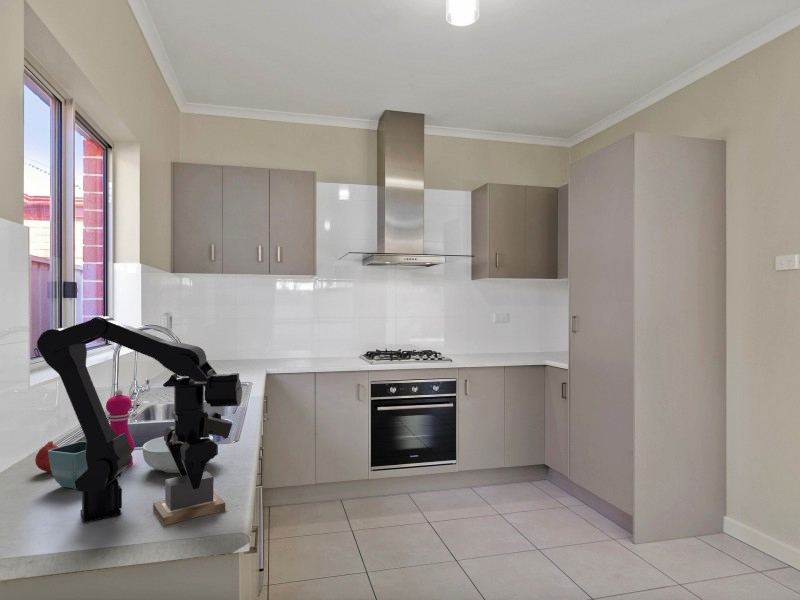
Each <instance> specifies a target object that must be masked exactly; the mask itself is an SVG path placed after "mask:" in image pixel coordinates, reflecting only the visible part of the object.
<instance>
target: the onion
mask: <svg viewBox="0 0 800 600" xmlns="http://www.w3.org/2000/svg"><path fill="white" fill-rule="evenodd" d="M58 447H59V446H58V445H56V444H54V441H53V440H50V441H48V442H47V443H46V444H45V445H44V446H42V447H41V448H40V449H39V450H38V451H37V453H36V456H35V458H34V460H35V465H36V467H37V468H38V469H39V470H41V471H44V472H45V473H49V474H51V473H52V472H51V467H50V461H49V455H48V450H51V449H54V448H58Z"/></svg>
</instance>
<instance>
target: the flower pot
mask: <svg viewBox="0 0 800 600" xmlns="http://www.w3.org/2000/svg"><path fill="white" fill-rule="evenodd" d="M85 453H86V440H80V441H76V442H73V443H70V444H69V443H68V444H66V445H61V446H58V448H54V449H51V450H48V455H49V461H50V467H51V472H50V473H51V475H52V476H53V478H54V480H55V481H56V483H58V484H59V486H60V487H64V488H70V489H74V490H75V489H76V490H77V488H76V486H75V481H76V480H77V479H78V478H79V477H80V476H81V475H82V474H83V473H84V472H85V471H86V470H87V469H88V468H87V463H86V458H85Z"/></svg>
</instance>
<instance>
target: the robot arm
mask: <svg viewBox="0 0 800 600" xmlns="http://www.w3.org/2000/svg"><path fill="white" fill-rule="evenodd" d="M99 339H104V340H106V341H109V342H111V343H113V344H114V343H115V344H117V345H119V346H121V347H124V348H127V349H129V350H131V351H134V352H136V353H140V354H142V355H145V356H147V357H150V358H152V359H153V360H155V361H157V362H158V363H159V364H160V365H161V366H163V368H165V369H167V370H168V371H170V372H172V373H173V374H171V376H170V377H169V378H168V379H167V380H166V381H165V382H164V383H163V384H162V386H163V387H164V388H173V389H174V391H173V393H174V394H173V395H174V397H173V398H174V399H173V401H174V403H173V404H174V405H173V407H174V408H173V409H174V411H172V412H171V417H172V419H174V420H173V421H174V424H173V425H172V426H168V427H166V428H165V429H164V430H163V436H164V441H165V442H166V445H167V447H168V449H169V451H170V453H171V455H172V457H173V460H174V462H175V464H176V466H177V468H178V470H179V475H180V476H185V475H188V478H189V480H190V483H191V485H192V488H193V489H198V488H199V486H200V483H201V479H202V476H203V472H205V469H206V466H207V464H208V463H209V461H211V460H212V459H214V458H215V457H216V456H218V455H219V445H218V444H217V443H216V442H215V441H214V440H213V441H212V440H210V439H209V438H206V437H209V435H211V436H213V435H214V436H218V437H222V438H223V439H229V437H230V434H231V430H232V427H233V423H232V422H230V421H229V420H227V419H225V418H222V414H221V413H220V412H216V411H211V412H210V414H209V413H208V412H207V411H205V402H206V404H207V405H209V406H210V407H212V408H213V407H217V408H218V407H239V406H241V403H242V398H243V397H242V396H243V387H242V383H241V379H240V373H238V372H237V373H236V372H234V373H233V372H232V373H229V374H227V373H223V374H217V372H216V370H215V369H214V368H213V367H212V366H211V364H210V363H209V362H208V360H207V355H206V353H205V350H204V349H203V348H201V347H199V346H197V345H192V344H189V343H184V342H178V341H170V340H166V339H164V338H161V337H158V336H156V335H153V334H150V333H148V332H146V331H143V330H141V329H138V328H135V327H133V326H130V325H128V324H126V323H123V322H122V321H121V322H120V321H118V320H115V319H114V318H113V317H111V316H109V315H108V316H106V315H105V316H96V317H93V318H91V319H90V320H87V321H83V322H80V323H78V324H75V325H71V326H69V327H68V326H67V327H66V326H65V327H60V328H51V329H47V330H45V331H43V332H42V333H40V335H39V337H38V340H36V347H37V350H38V352H39V354H40V355H41V357H42V358H43V360H44V361H45V363H46V364H47V365H48V366H49V367H50V368H51V369H52V370H53V371H55V372H56V373H57V374H58V375H59V378H60V379H61V381H62V384H63V387H64V389H65V392H66V394H67V397H68V399H69V401H70V403H71V405H72V406H71V407H72V408H73V411H74V413H75V416H76V419H77V420H78V422H79V423H78V424H79V426H80V428H81V430H82V432H83V435H84V438H85V441H86V453H85V458H86V463H87V468H88V469H87V470H86V471H85V472H84V473H83V474H82V475H81V476H80V477H79V478H78V479H77V480H76V481H75V486H76V488H77V489H76V490H77V492H78V493H80V492H81V509H80V511H79V512H80V515H81V518H82V522H83V523H89V522H93V521H99V520H102V519H105V518H110V517H114V516H119V515H121V513H122V512H121V509H122V508H123V489H122V487H121V485H120V482H119V480H118V478H120V477H121V476H122V474H123V471H124V470H125V469H126V468H127V467H129V466H130V465H129V463H130V461H131V459H132V457H133V455H132V453H131V451H132V450H133V448H132V447H131V446H130V445H129V443H128V439H127V435H126V433H123V434H121V435H120V436H119V435H118V434H117V433H115V432H114V431H113V430H112V428H111V427H110V421H109V420H108V416H107V415H106V412H105V410H104V407H103V405H102V403H101V399H100V398H99V395H98V393H97V389H96V388H95V385H94V383H93V380H92V378H91V375H90V372H89V370H88V367H87V355H88V350H87V346H86V344H90V343H92V342H95V341H97V340H99ZM202 437H203V438H204V439H201V438H202ZM128 465H129V466H128Z"/></svg>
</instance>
